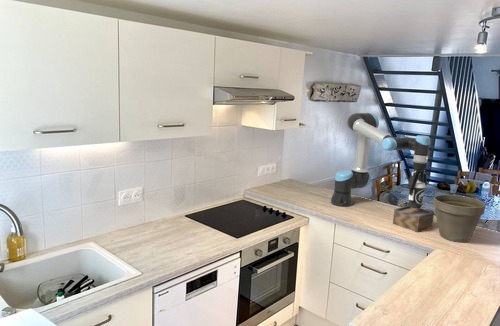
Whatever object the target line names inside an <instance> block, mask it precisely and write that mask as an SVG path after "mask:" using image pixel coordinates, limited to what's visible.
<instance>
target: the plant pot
mask: <svg viewBox="0 0 500 326" xmlns="http://www.w3.org/2000/svg"><path fill="white" fill-rule="evenodd" d="M432 198H433V201H432V202H433V203H432V205H433V208H434V210H435V215H436V222H437V227H438V233H439V236H440V237H442V239H445V240H448V241H449V242H450V241H451V242H456V243H468V242H469V241H470V239H471V237H472V236H473V234H474V231H475V230H476V228H477V226H478V223H479V221H480V219H481V217H482V216H483V215H484V214H485V211H486V206H487V205H486V203H485V202H484V201H483V200H479V199H476V198H473V197H469V196H462V195H457V194H456V195H455V194H437V195H435V196H433V197H432Z"/></svg>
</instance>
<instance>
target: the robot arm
mask: <svg viewBox="0 0 500 326" xmlns="http://www.w3.org/2000/svg"><path fill="white" fill-rule="evenodd" d="M379 124H380V122H379V118H378V116H377V115H376V114H374V113H370V112H363V113H362V112H360V113H359V112H356V113H352V114H351V115H349V117H348V119H347V127H348V128H349V130H351V131H352V132H355V133H357V134H358V135H357V142H356V148H355V150H356V151H355V159H354V165H353V167H352V168H351V170H347V169H346V170H344V169H343V170H339V171H337V172H336V173H335V177H334V189H333V193H332V196H331V199H330V203H331V205H334V206H336V207H337V206H339V207H344V208H345V207H352V206H353V198H352V190H353V189H363V188H366V187H368V186H369V185H370V183H371V181H372V179H371V178H372V176H371V174H370V173H369V170H368V167H367V166H368V160H369V152H370V145H371V140H372V141H374V142H376V143H377V144H379V145H381V147H382V149H383V150H384V151H388V152H389V151H390V152H391V151H404V150H405V151H407V150H408V151H413V160H412V161H413V162H412V168H413V169H414V170H413V171H410V174H409V175H410V176H409V180H408V183H407V187H406V188H407V189H408V201H409V200H412V201H413V200H414V191H415V190H414V188H415V185H416V183H417V181H419V182H423V183H425V185H426V187H427V185H428V184H427V183H428V181H427V180H428V179H427V175H428V170H427V168H428V160H429V151H430V145H431V137H430V136H428V135H416V137H409V136H400V137H394V136H392V135H390V134H388V133H387V132H385V131H382V130H381V129H379ZM409 186H410V187H409ZM409 189H410V191H409Z"/></svg>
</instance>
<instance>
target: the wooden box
mask: <svg viewBox="0 0 500 326" xmlns="http://www.w3.org/2000/svg"><path fill="white" fill-rule="evenodd" d="M434 216H435V212H434V211H430V210H426V209H424V208H411V207H409V204H408V205H405V206H401V207H398V208H394V211H393V218H392V219H393V220H392V224H393V225H395V226H398V227H402V228H405V229H407V230H411V231H413V232H415V233H419V232H422V231H425V230H427V229H430V228H433V224H434Z"/></svg>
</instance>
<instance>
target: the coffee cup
mask: <svg viewBox="0 0 500 326" xmlns="http://www.w3.org/2000/svg"><path fill="white" fill-rule="evenodd" d="M409 187H410V186H409ZM426 188H427V186H426V185H425V183H423V182H419V180H417V183H416V185H415V188H414V190H415V191H414V200H413V201H412V200H409V199H408V205H409V207H411V208H420V209H422V208H421V207H422V203H423V198H424V195H425V190H426ZM409 191H410V189H408V192H409Z"/></svg>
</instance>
